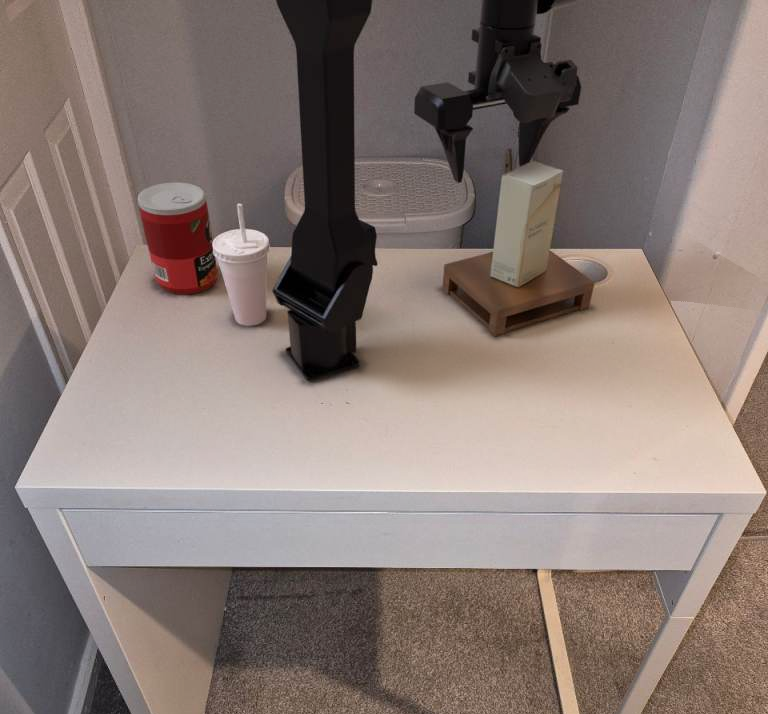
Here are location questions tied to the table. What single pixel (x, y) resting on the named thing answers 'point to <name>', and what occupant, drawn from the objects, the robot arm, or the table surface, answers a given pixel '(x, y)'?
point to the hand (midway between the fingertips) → (490, 174)
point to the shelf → (516, 293)
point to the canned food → (178, 237)
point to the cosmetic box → (525, 222)
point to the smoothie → (244, 270)
